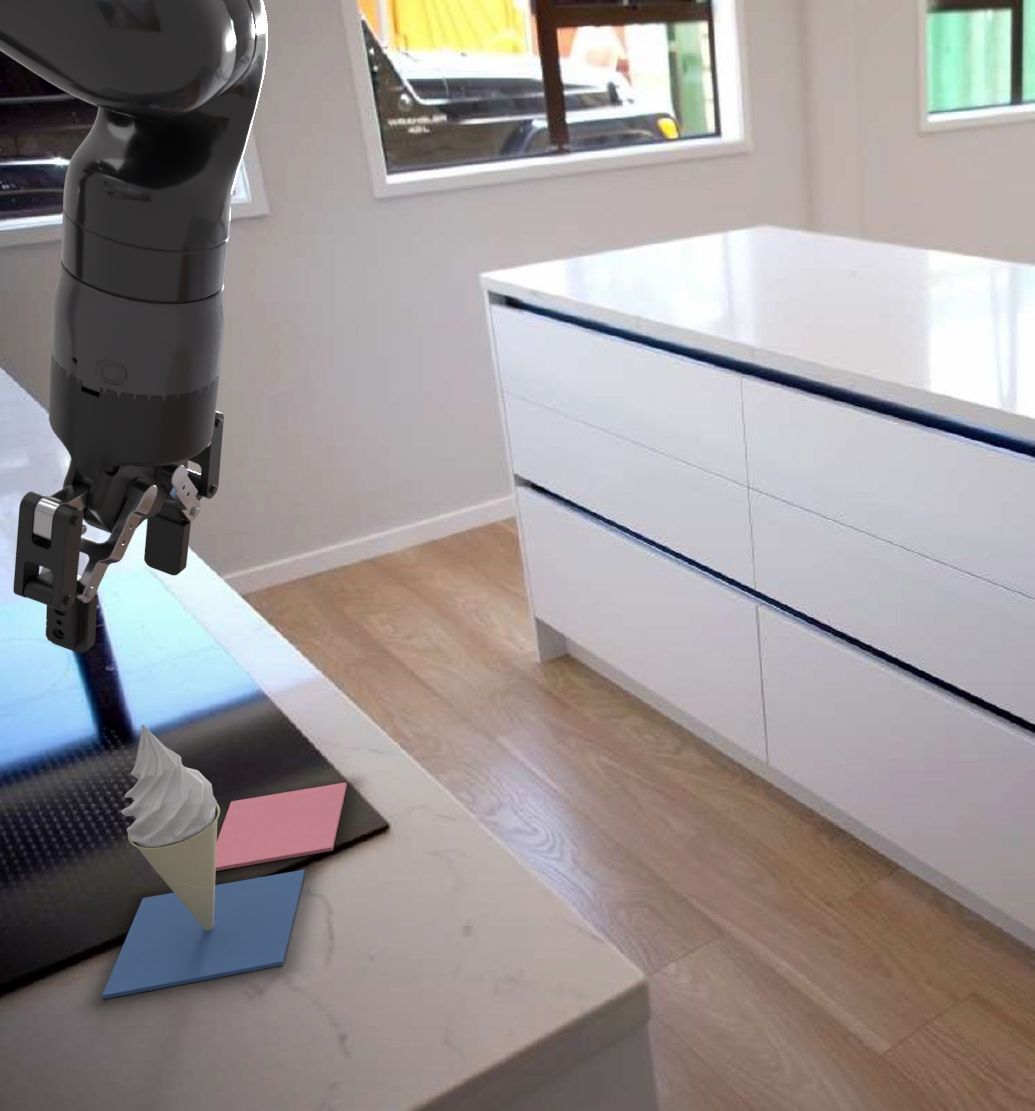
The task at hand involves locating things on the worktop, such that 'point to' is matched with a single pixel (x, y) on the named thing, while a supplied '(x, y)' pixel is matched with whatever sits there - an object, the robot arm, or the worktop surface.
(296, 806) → the rose mat
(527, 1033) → the worktop surface
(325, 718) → the worktop surface
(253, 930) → the blue mat
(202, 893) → the ice cream cone
